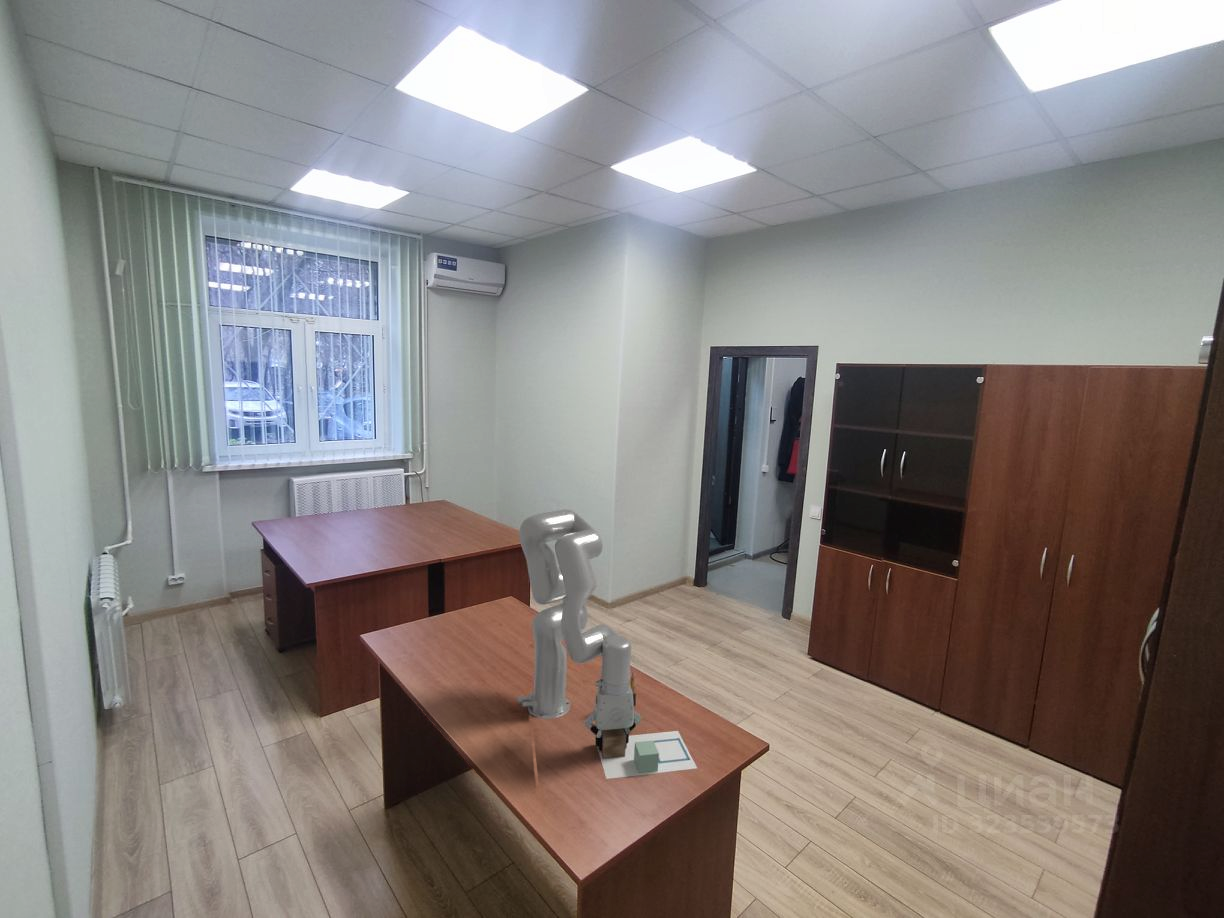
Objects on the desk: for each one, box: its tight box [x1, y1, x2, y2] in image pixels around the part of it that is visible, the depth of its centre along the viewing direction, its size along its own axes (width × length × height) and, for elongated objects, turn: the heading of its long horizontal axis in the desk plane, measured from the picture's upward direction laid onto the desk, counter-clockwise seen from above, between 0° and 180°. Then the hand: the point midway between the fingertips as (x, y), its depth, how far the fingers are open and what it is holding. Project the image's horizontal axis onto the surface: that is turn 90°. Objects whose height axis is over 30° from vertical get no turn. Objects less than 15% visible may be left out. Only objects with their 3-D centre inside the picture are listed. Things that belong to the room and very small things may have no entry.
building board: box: [595, 730, 698, 780], centre depth 141 cm, size 24×15×1 cm, turn 102°
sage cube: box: [634, 741, 659, 774], centre depth 136 cm, size 5×5×5 cm
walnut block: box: [601, 728, 626, 759], centre depth 141 cm, size 6×6×6 cm
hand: (611, 746), depth 141 cm, fingers closed on walnut block, 6 cm apart
